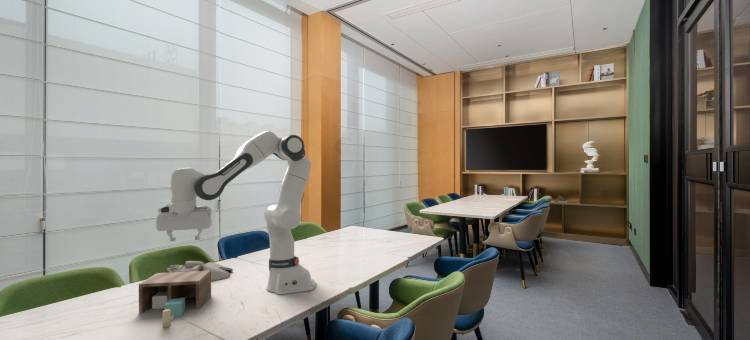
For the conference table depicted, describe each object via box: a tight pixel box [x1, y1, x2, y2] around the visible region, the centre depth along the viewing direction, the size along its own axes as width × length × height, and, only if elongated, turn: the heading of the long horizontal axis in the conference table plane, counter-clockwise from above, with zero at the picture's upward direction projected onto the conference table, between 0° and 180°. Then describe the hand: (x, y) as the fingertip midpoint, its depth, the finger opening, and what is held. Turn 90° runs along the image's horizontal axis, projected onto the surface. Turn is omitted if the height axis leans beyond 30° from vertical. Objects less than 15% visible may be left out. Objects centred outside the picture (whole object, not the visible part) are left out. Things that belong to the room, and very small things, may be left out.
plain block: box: [151, 291, 168, 310], centre depth 136 cm, size 6×6×5 cm
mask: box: [166, 260, 233, 283], centre depth 172 cm, size 20×9×30 cm
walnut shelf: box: [138, 270, 212, 314], centre depth 137 cm, size 22×14×11 cm, turn 99°
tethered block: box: [162, 298, 186, 329], centre depth 123 cm, size 6×14×6 cm, turn 17°
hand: (185, 240), depth 137 cm, fingers open, 8 cm apart
